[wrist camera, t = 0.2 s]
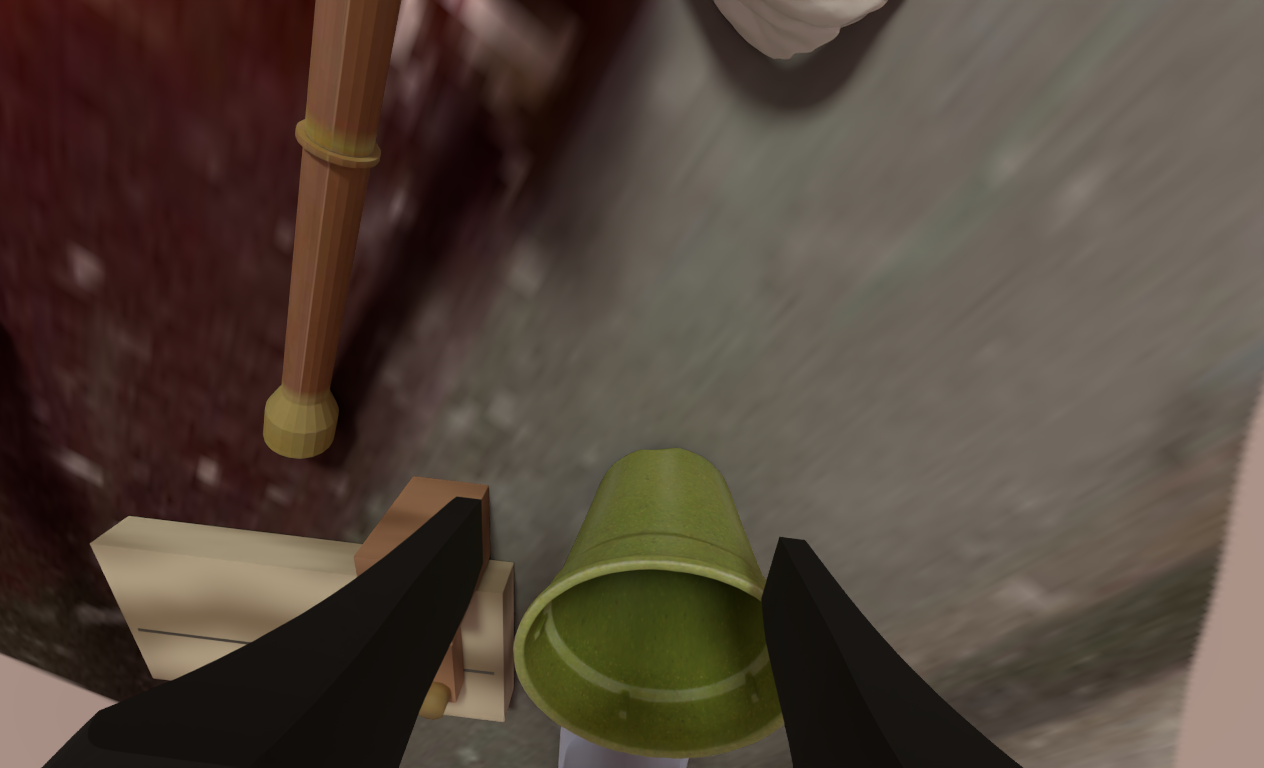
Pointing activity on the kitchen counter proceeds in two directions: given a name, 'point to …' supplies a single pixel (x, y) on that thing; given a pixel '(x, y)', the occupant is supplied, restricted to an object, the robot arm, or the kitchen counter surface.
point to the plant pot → (655, 619)
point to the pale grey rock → (793, 22)
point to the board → (273, 599)
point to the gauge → (398, 525)
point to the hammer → (329, 212)
